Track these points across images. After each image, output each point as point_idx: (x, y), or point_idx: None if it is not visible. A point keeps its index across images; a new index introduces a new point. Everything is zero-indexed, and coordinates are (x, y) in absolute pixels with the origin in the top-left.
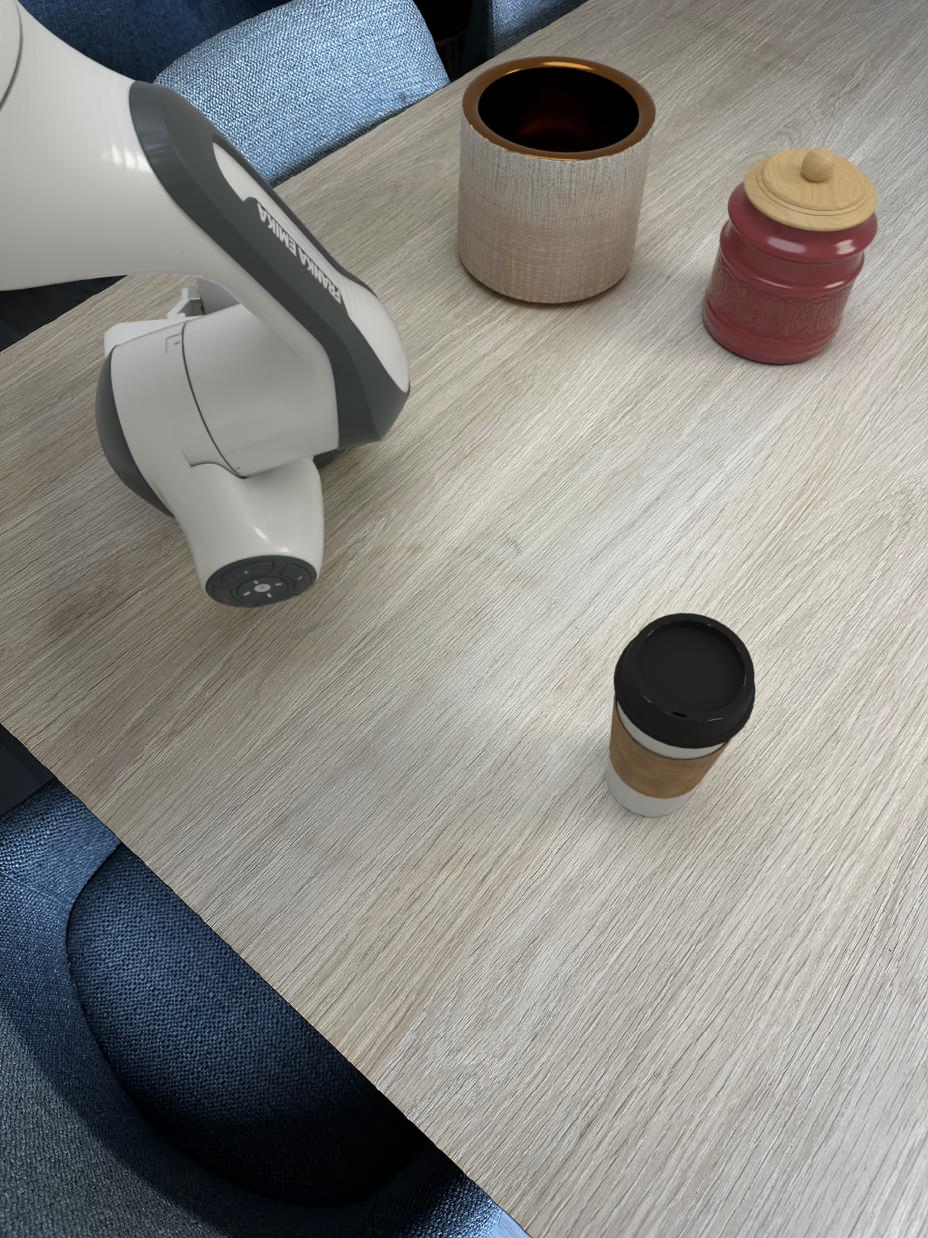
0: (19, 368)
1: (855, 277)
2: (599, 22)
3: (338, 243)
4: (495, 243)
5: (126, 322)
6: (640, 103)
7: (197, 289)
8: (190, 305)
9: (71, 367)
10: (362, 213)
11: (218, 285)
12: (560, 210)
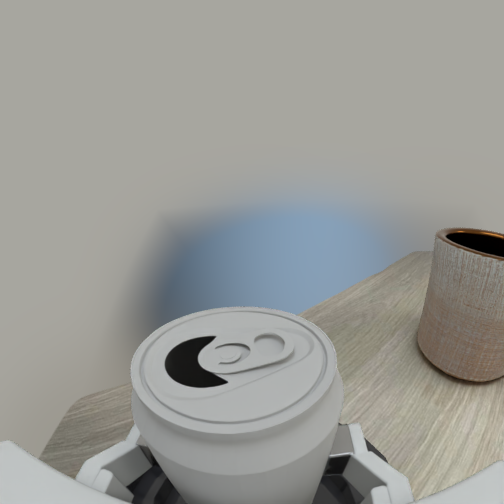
0: (75, 407)
1: None
2: (421, 253)
3: None
4: (471, 341)
5: (16, 447)
6: None
7: None
8: (139, 453)
9: (103, 420)
10: (346, 330)
11: (169, 468)
12: None
